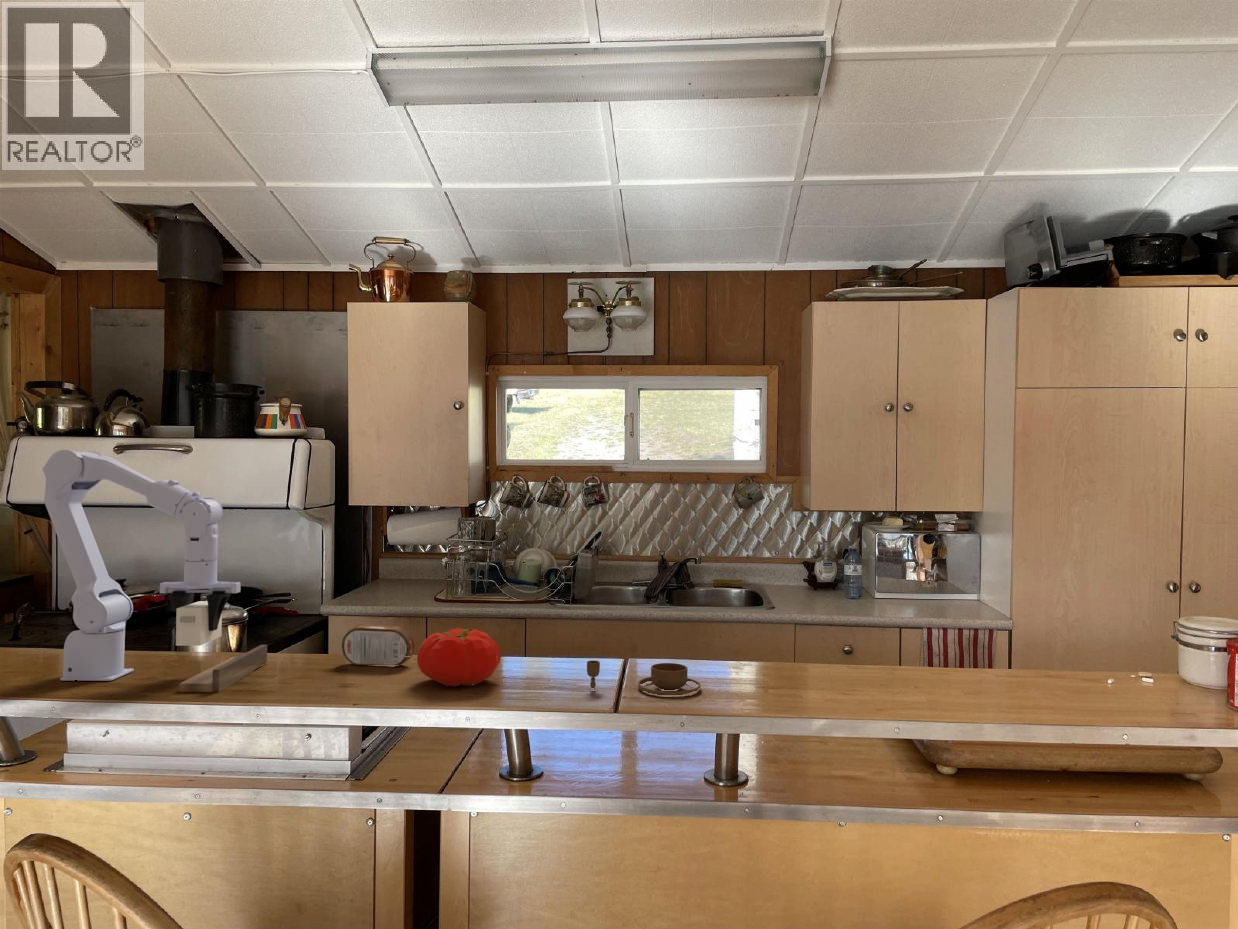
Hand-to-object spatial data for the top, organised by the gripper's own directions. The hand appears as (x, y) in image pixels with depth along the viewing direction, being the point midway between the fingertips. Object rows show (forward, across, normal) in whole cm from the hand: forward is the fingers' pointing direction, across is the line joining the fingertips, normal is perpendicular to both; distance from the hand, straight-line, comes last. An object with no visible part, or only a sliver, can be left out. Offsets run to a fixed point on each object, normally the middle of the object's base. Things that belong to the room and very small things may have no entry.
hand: (199, 630), depth 155 cm
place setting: (+11, +87, -7) cm, 88 cm away
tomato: (+10, +51, -4) cm, 52 cm away
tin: (+10, +32, +10) cm, 35 cm away
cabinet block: (+2, 0, 0) cm, 2 cm away
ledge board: (+9, +5, 0) cm, 10 cm away
